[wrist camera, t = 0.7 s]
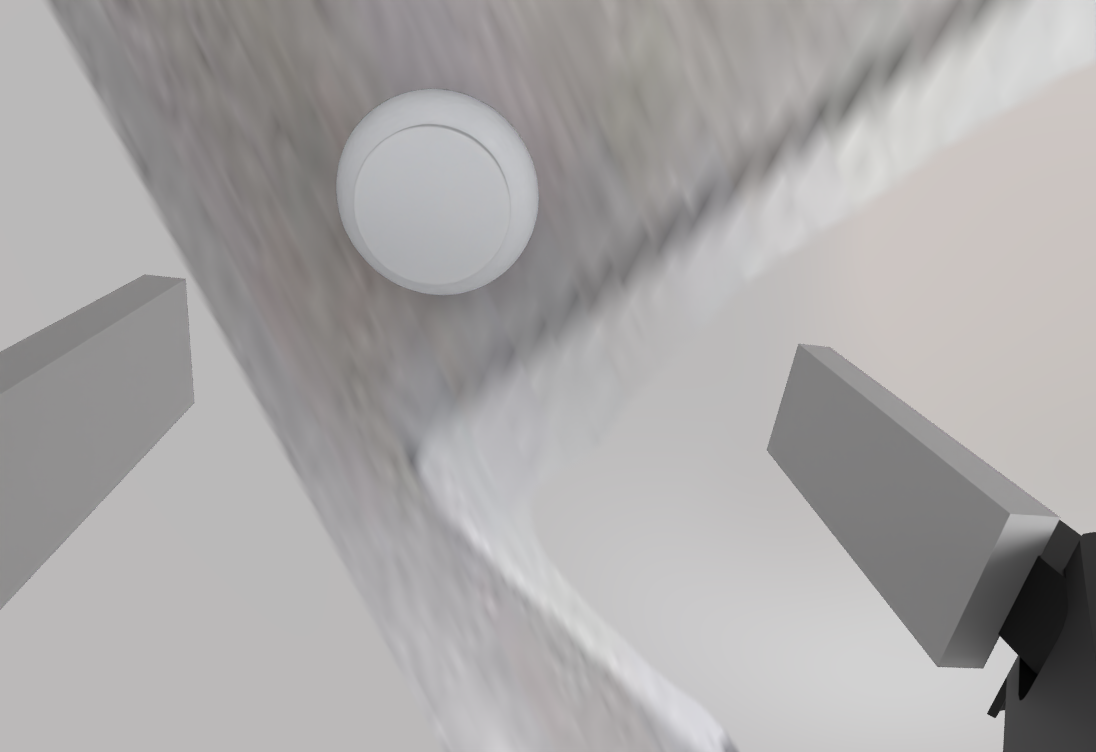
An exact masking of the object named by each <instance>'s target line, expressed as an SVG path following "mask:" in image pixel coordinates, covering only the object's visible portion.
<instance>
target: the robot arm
mask: <svg viewBox="0 0 1096 752" xmlns="http://www.w3.org/2000/svg"><path fill="white" fill-rule="evenodd" d="M193 404H194V392H193V378H192V364H191V350H190V336H189V322H188V308H187V294H186V280H185V279H180V278H171V277H162V276H152V275H143V276H141V277H139V278H138V279H136V280H134V281H132V282H130V283H128V284H126V285H124V286H123V287H121V288H119V289H117V290H115V291H113V292H111V293H110V294H108V295H106V296H104V297H102V298H100V299H98V300H96V301H95V302H93V303H91V304H89V305H87V306H85V307H83V308H81V309H80V310H78V311H76V312H74V313H72V314H70V315H68V316H67V317H65V318H63V319H61V320H59V321H57V322H55V323H53V324H52V325H50V326H48V327H46V328H44V329H42V330H40V331H39V332H37V333H35V334H33V335H31V336H29V337H27V338H26V339H24V340H22V341H20V342H18V343H16V344H14V345H13V346H11V347H9V348H7V349H5V350H3V351H1V352H0V610H1V608H2V607H3V606H4V605H5V604H6V603H7V602H8V601H9V600H10V599H11V598H12V597H13V596H14V595H15V594H16V592H17V591H18V590H19V589H20V588H21V587H22V586H23V585H24V584H25V583H26V582H27V581H28V580H29V579H30V578H31V576H32V575H33V574H34V573H35V572H36V571H37V570H38V569H39V568H40V567H41V566H42V565H43V564H44V563H45V562H46V560H47V559H48V558H49V557H50V556H51V555H52V554H53V553H54V552H55V551H56V550H57V549H58V548H59V547H60V545H61V544H62V543H63V542H64V541H65V540H66V539H67V538H68V537H69V536H70V535H71V534H72V533H73V532H74V531H75V529H76V528H77V527H78V526H79V525H80V524H81V523H82V522H83V521H84V520H85V519H86V518H87V517H88V516H89V515H90V514H91V512H92V511H93V510H94V509H95V508H96V507H97V506H98V505H99V504H100V503H101V502H102V501H103V500H104V499H105V497H106V496H107V495H108V494H109V493H110V492H111V491H112V490H113V489H114V488H115V487H116V486H117V485H118V484H119V483H120V482H121V480H122V479H123V478H124V477H125V476H126V475H127V474H128V473H129V472H130V471H131V470H132V469H133V468H134V467H135V465H136V464H137V463H138V462H139V461H140V460H141V459H142V458H143V457H144V456H145V455H146V454H147V453H148V452H149V451H150V449H151V448H152V447H153V446H154V445H155V444H156V443H157V442H158V441H159V440H160V439H161V438H162V437H163V436H164V434H165V433H166V432H167V431H168V430H169V429H170V428H171V427H172V426H173V425H174V424H175V423H176V421H178V419H180V417H181V416H182V415H183V414H184V413H185V412H186V411H187V410H188V409H189V408H190V407H191V406H192V405H193ZM767 451H768V452H769V454H770V455H771V456H772V457H773V459H774V460H775V461H776V462H777V464H778V465H779V466H780V468H781V469H782V470H783V471H784V473H785V474H786V475H787V476H788V478H789V479H790V480H791V481H792V483H793V484H794V485H795V486H796V488H797V489H798V490H799V492H800V493H801V494H802V495H803V497H804V498H805V499H806V501H807V502H808V503H809V504H810V506H811V507H812V508H813V509H814V511H815V512H816V513H817V514H818V516H819V517H820V518H821V519H822V521H823V522H824V523H825V525H826V526H827V527H828V528H829V530H830V531H831V532H832V534H833V535H834V536H835V537H836V538H837V540H838V541H839V542H840V544H841V545H842V546H843V547H844V549H845V550H846V551H847V553H849V555H850V556H851V558H852V559H853V560H854V561H855V563H856V564H857V565H858V567H859V568H860V569H861V570H862V571H863V573H864V574H865V575H866V576H867V578H868V579H869V580H870V582H871V583H872V584H873V585H874V587H875V588H876V589H877V591H878V592H879V593H880V594H881V596H882V597H883V598H884V600H885V601H886V602H887V603H888V605H889V606H890V607H891V608H892V610H893V611H894V612H895V613H896V615H897V616H898V617H899V619H900V620H901V621H902V622H903V624H904V625H905V626H906V627H907V629H908V630H909V631H910V632H911V634H912V635H913V636H914V638H915V639H916V640H917V641H918V643H919V644H920V645H921V646H922V648H923V649H924V650H925V651H926V653H927V654H928V655H929V657H930V658H931V659H932V660H933V662H934V663H935V664H936V665H937V667H958V668H984V666H985V664H986V662H987V659H988V658H989V656H990V654H991V652H992V650H993V648H994V646H995V644H996V642H997V640H998V638H999V636H1001V637H1002V638H1003V640H1004V641H1005V642H1006V643H1007V644H1008V645H1009V646H1010V647H1011V648H1012V649H1013V650H1014V651H1015V652H1016V653H1017V654H1018V657H1017V659H1016V660H1015V662H1014V664H1013V666H1012V668H1011V670H1010V672H1009V674H1008V675H1007V677H1006V679H1005V681H1004V683H1003V685H1002V687H1001V688H1000V690H999V692H998V694H997V696H996V698H995V700H994V702H993V703H992V705H991V707H990V709H989V711H988V713H987V714H988V715H990V716H992V717H994V718H996V716H997V715H998V713H999V711H1001V710H1005V727H1004V746H1003V752H1096V532H1093V533H1086V534H1083V535H1082V536H1081V535H1080V534H1078V533H1077V532H1075V531H1074V530H1073V529H1071V528H1070V527H1069V526H1067V525H1066V524H1065V523H1063V522H1062V521H1061V520H1059V519H1060V517H1059V516H1058V515H1056V514H1055V513H1054V512H1052V511H1051V510H1050V509H1048V508H1047V507H1045V506H1044V505H1043V504H1042V503H1040V502H1039V501H1038V500H1036V499H1035V498H1033V497H1032V496H1031V495H1029V494H1028V493H1027V492H1025V491H1024V490H1023V489H1021V488H1020V487H1019V486H1017V485H1016V484H1015V483H1013V482H1012V481H1010V480H1009V479H1008V478H1006V477H1005V476H1004V475H1002V474H1001V473H1000V472H998V471H997V470H995V469H994V468H993V467H991V466H990V465H989V464H987V463H986V462H985V461H983V460H982V459H981V458H979V457H978V456H977V455H975V454H974V453H972V452H971V451H970V450H968V449H967V448H965V447H964V446H963V445H961V444H960V443H959V442H958V441H956V440H955V439H954V438H952V437H951V436H949V435H948V434H947V433H945V432H944V431H943V430H941V429H940V428H938V427H937V426H936V425H935V424H933V423H932V422H930V421H929V420H928V419H927V418H925V417H924V416H922V415H921V414H920V413H918V412H917V411H916V410H914V409H913V408H911V407H910V406H909V405H908V404H906V403H905V402H903V401H902V400H901V399H899V398H898V397H896V396H895V395H894V394H893V393H891V392H890V391H888V390H887V389H886V388H885V387H883V386H882V385H880V384H879V383H878V382H876V381H875V380H873V379H872V378H871V377H870V376H868V375H867V374H866V373H864V372H863V371H862V370H860V369H859V368H857V367H856V366H855V365H853V364H852V363H851V362H849V361H848V360H847V359H845V358H844V357H843V356H841V355H840V354H838V353H837V352H836V351H834V350H833V349H832V348H830V347H823V346H814V345H805V344H798V347H797V350H796V354H795V357H794V361H793V364H792V367H791V371H790V374H789V377H788V381H787V384H786V387H785V391H784V394H783V398H782V401H781V404H780V407H779V411H778V414H777V417H776V421H775V424H774V427H773V431H772V434H771V438H770V441H769V444H768V447H767Z"/></svg>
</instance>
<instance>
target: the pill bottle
mask: <svg viewBox="0 0 1096 752" xmlns="http://www.w3.org/2000/svg"><path fill="white" fill-rule="evenodd" d="M336 196H337V204H338V209H339V214H340V217H341V220H342V223H343V226H344V229H345V231H346V233H347V235H348V237H349V239H350V240H351V242H352V244H353V245H354V246H355V248H356V249H357V251H358V252H359V253H360V254H361V256H362V257H363V258H364V259H365V260H366V261H367V262H368V264H369V265H370V266H372V267H373V268H374V269H375V270H376V271H377V272H378V273H380V274H381V275H382V276H384V277H385V278H387V279H388V280H390V281H392V282H394V283H395V284H398V285H400V286H402V287H404V288H407V289H410V290H413V291H416V292H420V293H425V294H431V295H453V294H460V293H465V292H469V291H472V290H475V289H478V288H480V287H482V286H484V285H486V284H488V283H490V282H492V281H493V280H495V279H496V278H498V277H499V276H500V275H502V274H503V273H504V272H505V271H507V270H508V269H509V268H510V267H511V266H512V265H513V264H514V262H515V261H516V260H517V259H518V258H519V256H520V255H521V253H522V252H523V250H524V249H525V247H526V245H527V243H528V241H529V239H530V237H531V235H532V232H533V229H534V226H535V222H536V218H537V213H538V204H539V192H538V182H537V176H536V171H535V168H534V164H533V161H532V159H531V156H530V154H529V152H528V150H527V148H526V146H525V144H524V142H523V141H522V139H521V138H520V136H519V135H518V133H517V132H516V131H515V129H514V128H513V127H512V126H511V124H510V123H509V122H508V121H507V120H506V119H505V118H504V117H503V116H502V115H501V114H499V113H498V112H497V111H496V110H494V109H493V108H492V107H490V106H489V105H487V104H485V103H483V102H482V101H480V100H478V99H476V98H474V97H471V96H469V95H466V94H463V93H459V92H455V91H451V90H445V89H421V90H415V91H410V92H406V93H403V94H400V95H397V96H395V97H393V98H390V99H388V100H387V101H385V102H383V103H382V104H380V105H378V106H377V107H376V108H374V109H373V110H372V111H370V112H369V113H368V114H367V115H366V116H365V117H364V118H363V119H362V120H361V121H360V122H359V124H358V125H357V126H356V127H355V129H354V130H353V131H352V133H351V135H350V136H349V138H348V140H347V142H346V144H345V146H344V149H343V151H342V154H341V157H340V161H339V165H338V171H337V179H336Z"/></svg>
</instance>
